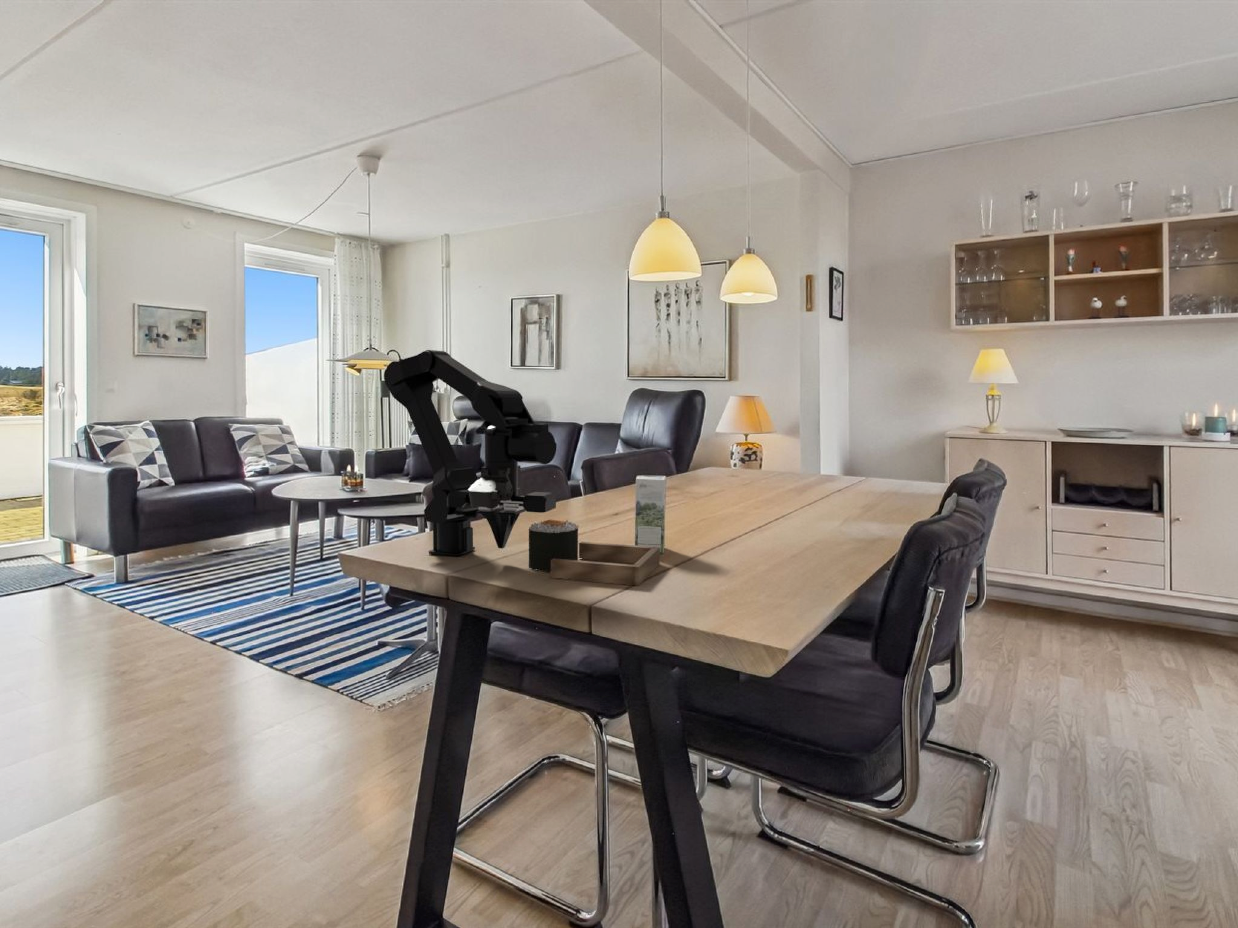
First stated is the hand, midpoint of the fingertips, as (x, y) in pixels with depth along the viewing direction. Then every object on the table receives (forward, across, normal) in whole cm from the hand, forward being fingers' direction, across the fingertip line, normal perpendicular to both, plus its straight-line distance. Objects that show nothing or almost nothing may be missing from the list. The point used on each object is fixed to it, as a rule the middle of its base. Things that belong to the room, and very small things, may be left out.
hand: (501, 547), depth 125 cm
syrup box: (+3, +23, +18) cm, 29 cm away
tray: (+2, +20, 0) cm, 20 cm away
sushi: (+3, +10, 0) cm, 10 cm away
